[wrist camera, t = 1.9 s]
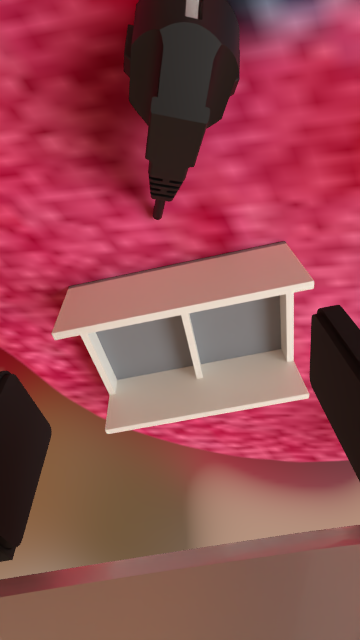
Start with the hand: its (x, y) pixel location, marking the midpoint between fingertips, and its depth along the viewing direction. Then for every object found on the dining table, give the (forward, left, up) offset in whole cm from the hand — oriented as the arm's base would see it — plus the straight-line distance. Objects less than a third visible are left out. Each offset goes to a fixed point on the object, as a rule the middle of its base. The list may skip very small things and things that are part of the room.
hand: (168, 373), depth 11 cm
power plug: (-1, 0, -19) cm, 19 cm away
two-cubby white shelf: (+11, 0, -17) cm, 20 cm away
